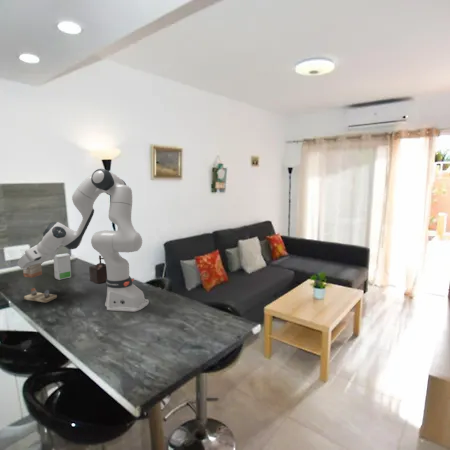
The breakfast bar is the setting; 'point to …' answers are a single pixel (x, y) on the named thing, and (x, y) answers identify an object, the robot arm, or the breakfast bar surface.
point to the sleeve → (33, 271)
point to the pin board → (40, 296)
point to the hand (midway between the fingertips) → (31, 266)
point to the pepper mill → (98, 272)
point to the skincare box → (62, 266)
